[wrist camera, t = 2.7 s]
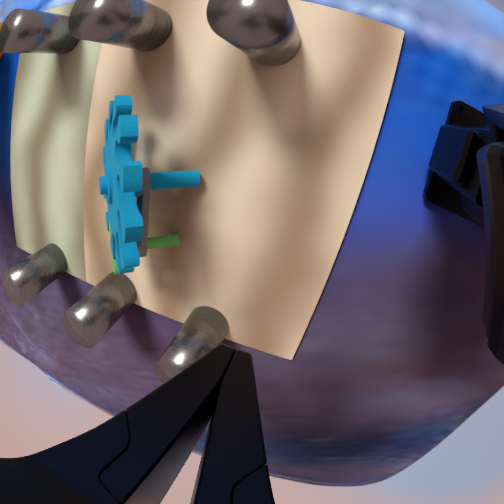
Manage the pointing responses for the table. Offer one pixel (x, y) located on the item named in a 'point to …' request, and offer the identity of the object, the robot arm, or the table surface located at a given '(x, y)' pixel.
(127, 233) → the gear
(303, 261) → the board
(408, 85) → the table surface
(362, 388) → the table surface
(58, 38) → the spacer posts
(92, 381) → the table surface
